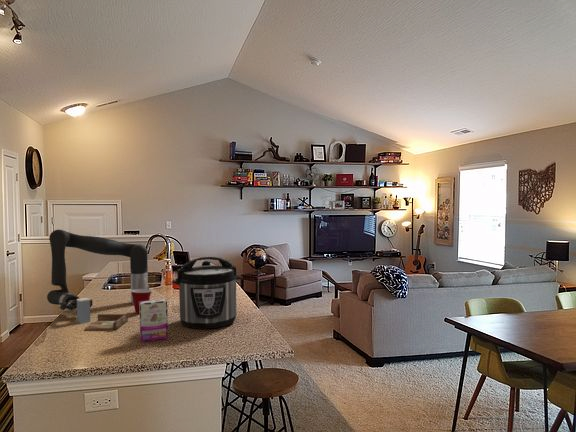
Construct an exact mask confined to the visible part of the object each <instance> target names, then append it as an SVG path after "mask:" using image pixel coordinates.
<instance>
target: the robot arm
mask: <svg viewBox="0 0 576 432" xmlns="http://www.w3.org/2000/svg"><path fill="white" fill-rule="evenodd" d="M48 237H49V239H48V240H49V244H50V248H51V250H50V251H51V282H50V283H51V285H52V286H54V287H55V286H56V287H57V286H58V287H60V289H54V290H50V291H49V292H48V293H47V295H46V299H47V302H48V303H49V304H51V305H57V306H59V309H61V310H62V311H65V310H67V311H68V310H69V311H74V310H77V299H81V298H80V297H79V296H78V295H75V294H73V293H70V292H69V289H68V284H67V265H66V255H65V254H66V248H72V249H73V248H75V249H80V250H83V251H86V252H89V253H93V254H98V255H104V256H121V257H127V258H129V260H130V262H129V264H130V267H129V268H130V291H131V290H137V289H148V290H150V284H149V285H148V283H149V282H148V280H149V279H148V278H149V277H148V273H149V272H148V268H149V267H148V249H147V247H146V246H144V244H134V243H126V242H121V241H118V240H115V239H110V238H105V237H100V236H92V235H80V234H76V233H72V232H69V231H66V230H64V229H55V230H53V231H52V232H51V233H50V234H49V236H48ZM130 303H131V304H133V305H134V302H133V297H132V293H131V292H130ZM93 304H94V303H93V299H90V308H92V306H93Z"/></svg>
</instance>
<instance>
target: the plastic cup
mask: <svg viewBox="0 0 576 432" xmlns="http://www.w3.org/2000/svg"><path fill="white" fill-rule="evenodd" d="M152 292H153V290H152V289H149V290H148V289H137V290H131V289H130V294H131V293H132V297H133V302H134V304H133V308H134V312H135V314H137V315H139V302H140V301H150V300H151V299H150V298H151V295H152Z"/></svg>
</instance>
